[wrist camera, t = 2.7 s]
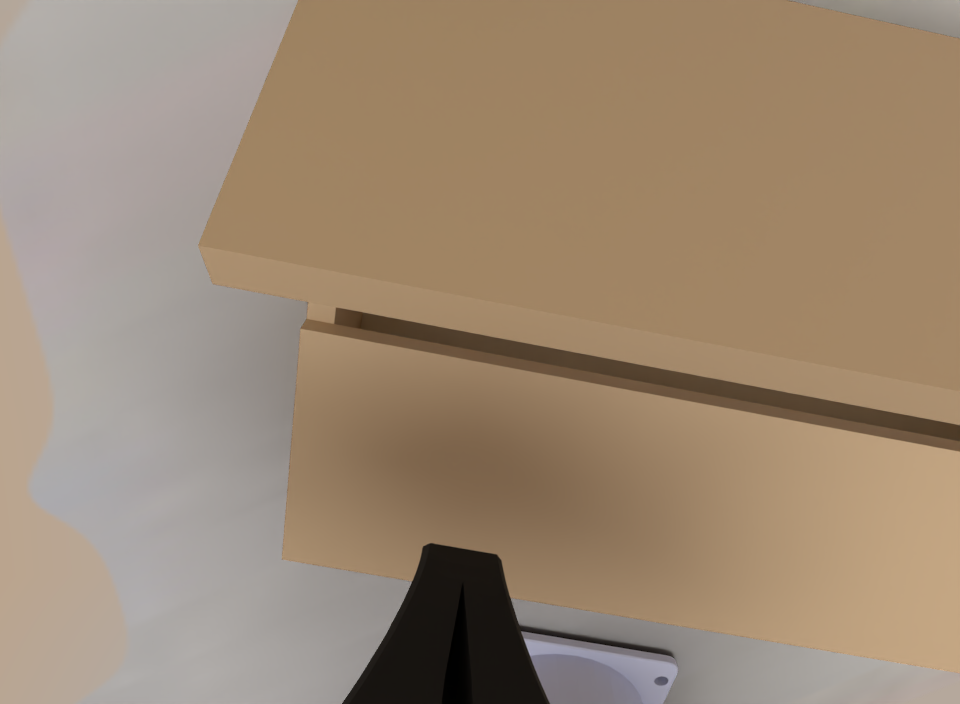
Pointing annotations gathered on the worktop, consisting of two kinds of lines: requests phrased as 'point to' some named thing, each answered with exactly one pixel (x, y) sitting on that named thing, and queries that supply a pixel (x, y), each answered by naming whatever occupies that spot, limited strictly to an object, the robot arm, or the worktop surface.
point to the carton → (626, 488)
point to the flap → (619, 185)
